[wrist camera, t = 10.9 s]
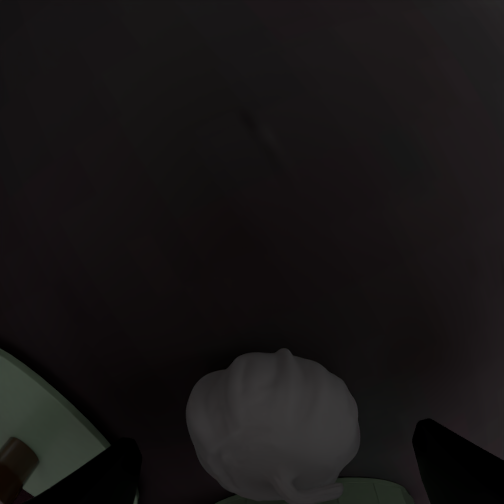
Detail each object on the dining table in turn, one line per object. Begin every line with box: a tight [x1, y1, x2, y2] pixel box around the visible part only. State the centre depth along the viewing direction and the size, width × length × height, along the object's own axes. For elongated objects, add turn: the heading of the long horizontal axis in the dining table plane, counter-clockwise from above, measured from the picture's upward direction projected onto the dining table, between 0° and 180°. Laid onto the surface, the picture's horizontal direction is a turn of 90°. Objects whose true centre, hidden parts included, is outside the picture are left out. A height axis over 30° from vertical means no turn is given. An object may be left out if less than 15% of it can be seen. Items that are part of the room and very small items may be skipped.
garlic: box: [186, 348, 360, 504], centre depth 9 cm, size 6×5×5 cm
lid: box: [0, 348, 139, 504], centre depth 11 cm, size 15×15×6 cm
